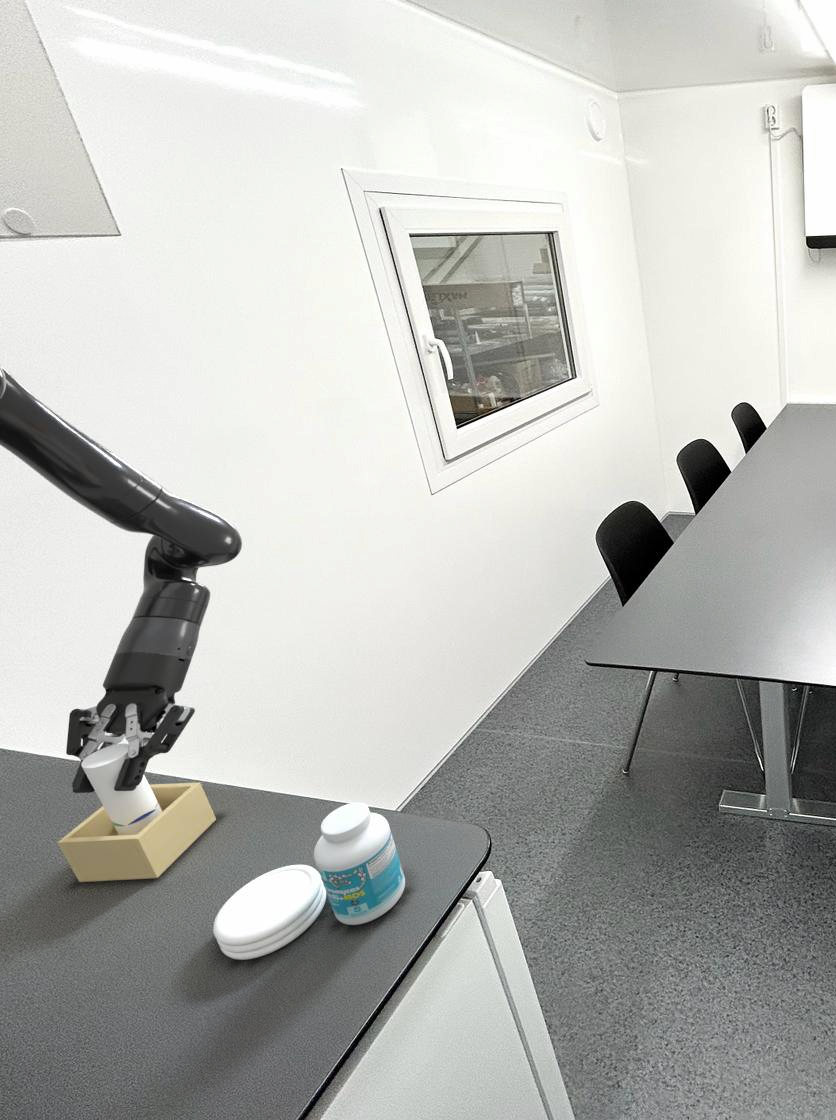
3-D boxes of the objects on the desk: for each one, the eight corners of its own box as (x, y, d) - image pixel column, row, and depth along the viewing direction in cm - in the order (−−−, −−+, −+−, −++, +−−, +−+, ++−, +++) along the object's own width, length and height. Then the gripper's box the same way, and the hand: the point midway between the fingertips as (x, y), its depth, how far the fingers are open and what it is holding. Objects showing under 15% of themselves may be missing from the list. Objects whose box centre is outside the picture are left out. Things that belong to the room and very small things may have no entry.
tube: (140, 835, 85) (94, 748, 79) (179, 826, 86) (137, 740, 81) (121, 860, 81) (72, 771, 76) (162, 851, 83) (117, 762, 77)
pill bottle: (320, 920, 75) (287, 836, 70) (373, 868, 81) (347, 788, 77) (371, 935, 73) (341, 850, 68) (421, 880, 80) (397, 799, 75)
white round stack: (251, 977, 69) (241, 956, 67) (203, 939, 72) (193, 918, 71) (345, 901, 77) (338, 880, 76) (298, 871, 81) (290, 851, 80)
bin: (79, 882, 79) (56, 842, 77) (146, 822, 88) (128, 785, 86) (157, 878, 80) (137, 838, 77) (216, 819, 89) (200, 782, 86)
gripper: (70, 651, 81) (9, 794, 74) (186, 647, 82) (136, 788, 75) (125, 662, 88) (73, 794, 81) (231, 659, 89) (189, 789, 82)
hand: (104, 791), depth 78 cm, fingers closed on tube, 4 cm apart
